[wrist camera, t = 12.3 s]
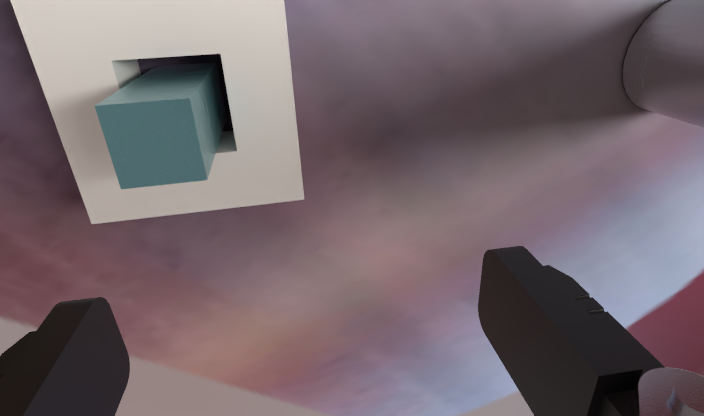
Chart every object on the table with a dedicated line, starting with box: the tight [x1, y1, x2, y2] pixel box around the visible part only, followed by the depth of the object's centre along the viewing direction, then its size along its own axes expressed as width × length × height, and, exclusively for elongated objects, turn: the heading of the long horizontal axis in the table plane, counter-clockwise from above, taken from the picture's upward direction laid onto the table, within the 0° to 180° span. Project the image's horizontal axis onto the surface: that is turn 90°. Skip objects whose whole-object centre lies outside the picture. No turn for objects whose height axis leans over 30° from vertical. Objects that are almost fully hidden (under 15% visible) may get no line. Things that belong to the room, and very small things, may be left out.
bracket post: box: [95, 62, 226, 189], centre depth 25 cm, size 4×4×12 cm
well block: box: [10, 0, 304, 224], centre depth 28 cm, size 14×14×5 cm
